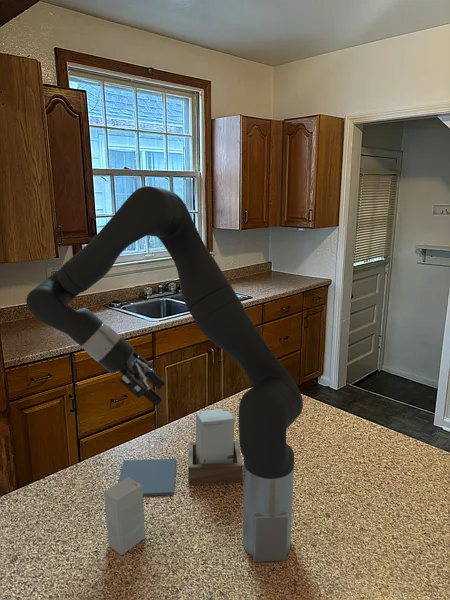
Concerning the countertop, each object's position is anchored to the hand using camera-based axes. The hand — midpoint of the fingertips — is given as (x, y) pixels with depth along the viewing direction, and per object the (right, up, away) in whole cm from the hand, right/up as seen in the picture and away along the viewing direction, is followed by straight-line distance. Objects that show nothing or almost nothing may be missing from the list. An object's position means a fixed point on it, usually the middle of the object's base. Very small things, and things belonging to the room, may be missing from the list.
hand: (161, 393), depth 104 cm
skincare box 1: (-4, -25, -17) cm, 31 cm away
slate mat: (-4, -20, +3) cm, 21 cm away
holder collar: (+12, -20, +6) cm, 24 cm away
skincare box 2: (+12, -20, +6) cm, 24 cm away
